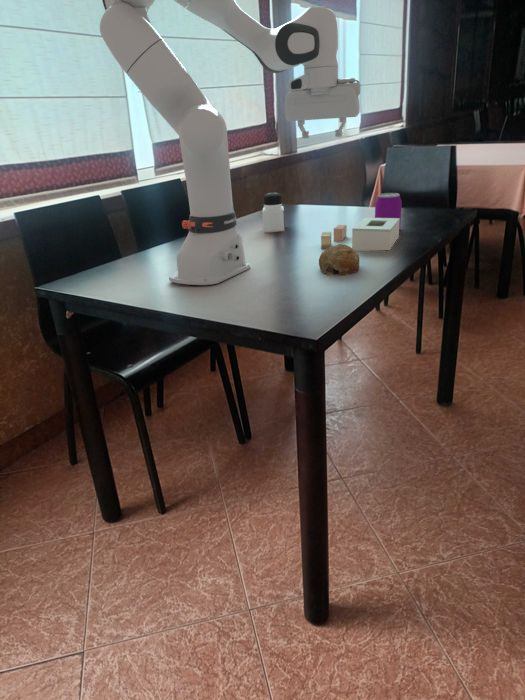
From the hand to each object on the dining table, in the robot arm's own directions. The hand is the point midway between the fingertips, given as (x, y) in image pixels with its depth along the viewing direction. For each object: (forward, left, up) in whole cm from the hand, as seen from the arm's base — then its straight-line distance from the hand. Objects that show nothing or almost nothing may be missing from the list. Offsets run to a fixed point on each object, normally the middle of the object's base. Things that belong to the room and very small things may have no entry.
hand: (321, 137), depth 136 cm
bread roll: (-27, -13, -30) cm, 42 cm away
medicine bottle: (+13, +22, -29) cm, 39 cm away
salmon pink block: (+1, -5, -29) cm, 30 cm away
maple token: (-8, -3, -29) cm, 30 cm away
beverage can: (+11, -17, -29) cm, 36 cm away
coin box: (-5, -17, -29) cm, 34 cm away
